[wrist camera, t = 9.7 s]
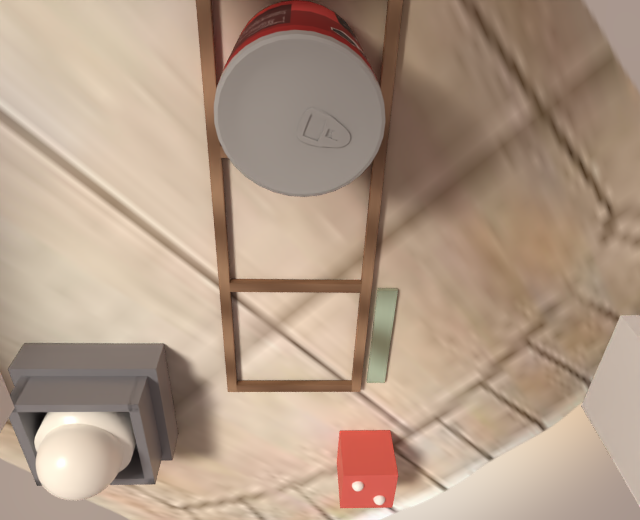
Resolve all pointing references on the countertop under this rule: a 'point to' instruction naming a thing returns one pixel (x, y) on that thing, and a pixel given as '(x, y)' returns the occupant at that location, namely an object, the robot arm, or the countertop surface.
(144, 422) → the dome base
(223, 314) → the frame
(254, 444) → the countertop surface
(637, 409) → the robot arm
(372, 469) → the red die
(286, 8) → the canned food
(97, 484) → the dome
